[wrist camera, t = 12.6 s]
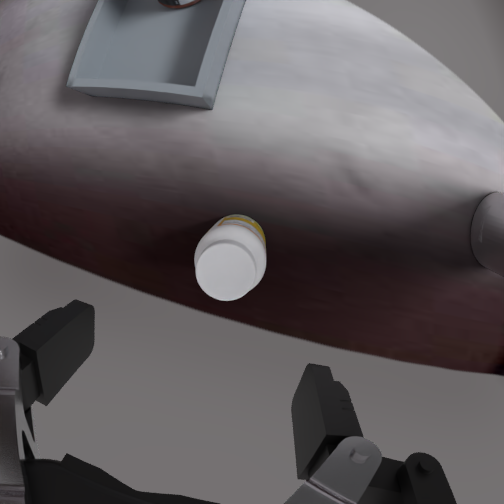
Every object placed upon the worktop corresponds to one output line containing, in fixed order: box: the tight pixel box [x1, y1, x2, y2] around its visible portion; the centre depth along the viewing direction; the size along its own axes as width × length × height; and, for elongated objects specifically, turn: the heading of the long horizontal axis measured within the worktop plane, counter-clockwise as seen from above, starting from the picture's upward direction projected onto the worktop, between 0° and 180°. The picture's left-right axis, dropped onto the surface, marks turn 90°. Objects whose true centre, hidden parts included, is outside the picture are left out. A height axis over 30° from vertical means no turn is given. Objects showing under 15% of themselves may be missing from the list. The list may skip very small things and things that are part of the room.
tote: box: [66, 0, 246, 110], centre depth 22 cm, size 14×19×5 cm
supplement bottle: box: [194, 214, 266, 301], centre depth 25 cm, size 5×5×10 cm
